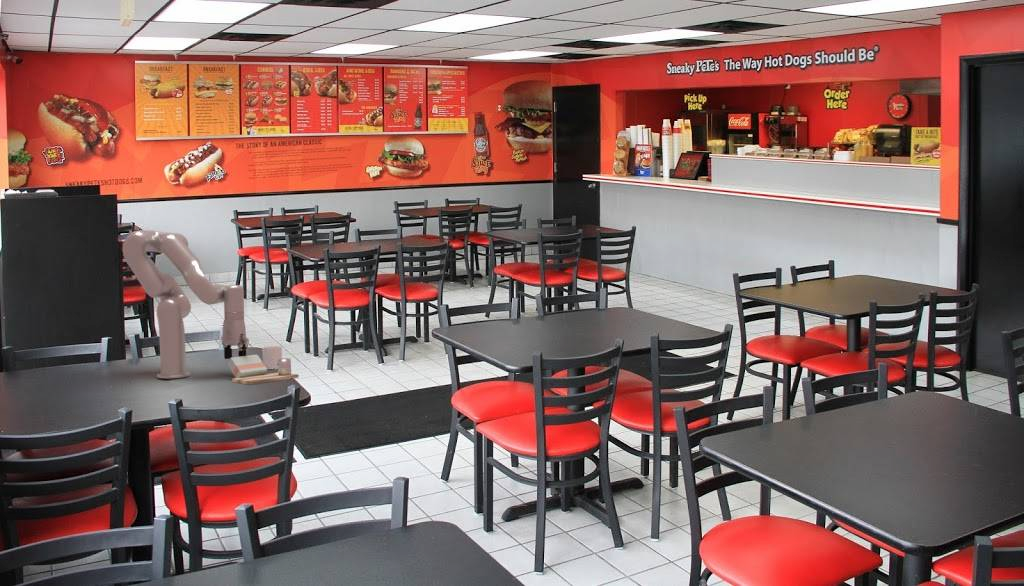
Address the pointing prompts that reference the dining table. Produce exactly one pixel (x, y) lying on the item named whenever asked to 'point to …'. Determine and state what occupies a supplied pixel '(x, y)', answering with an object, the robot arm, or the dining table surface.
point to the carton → (247, 366)
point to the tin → (284, 367)
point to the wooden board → (263, 378)
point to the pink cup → (271, 356)
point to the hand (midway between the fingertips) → (235, 359)
